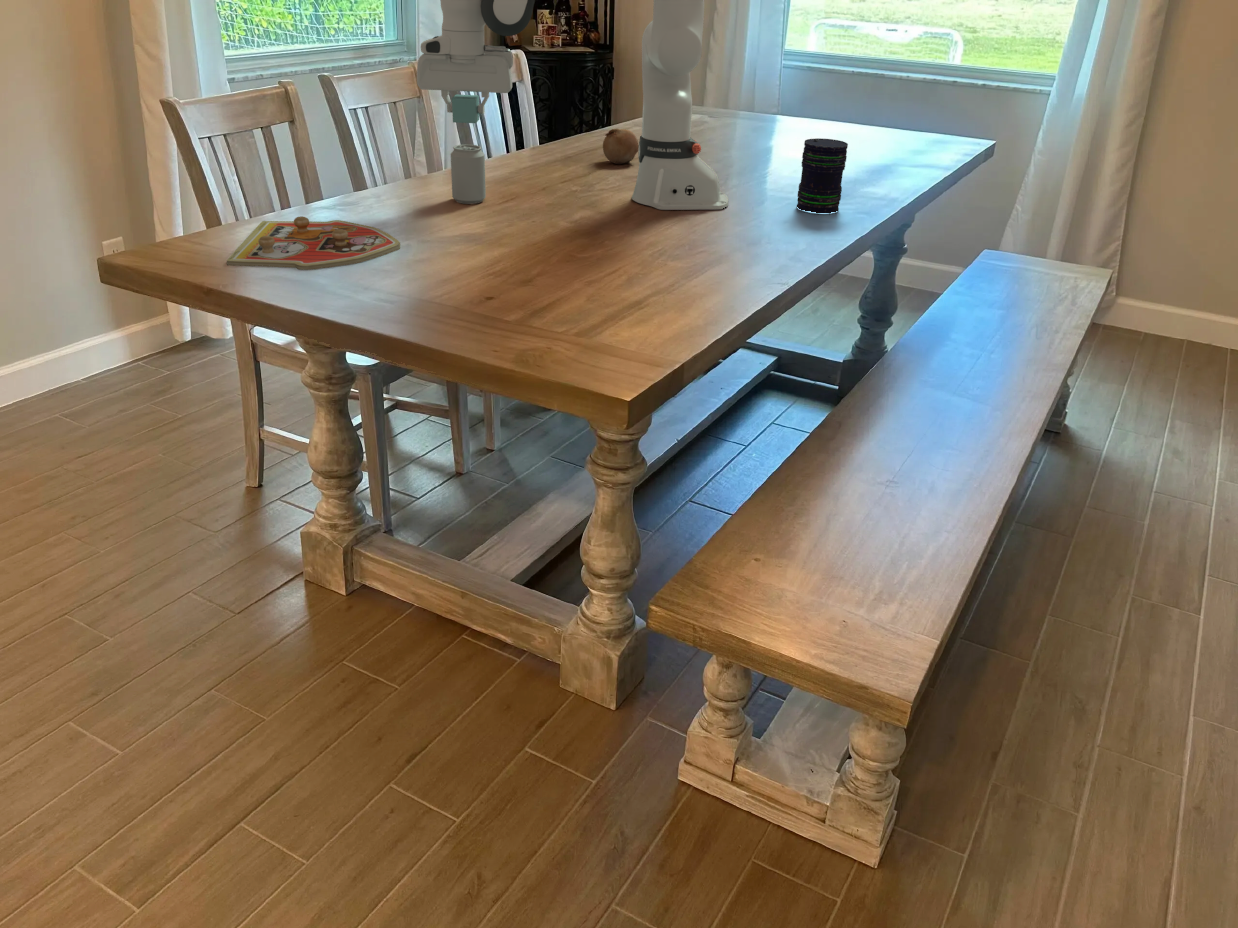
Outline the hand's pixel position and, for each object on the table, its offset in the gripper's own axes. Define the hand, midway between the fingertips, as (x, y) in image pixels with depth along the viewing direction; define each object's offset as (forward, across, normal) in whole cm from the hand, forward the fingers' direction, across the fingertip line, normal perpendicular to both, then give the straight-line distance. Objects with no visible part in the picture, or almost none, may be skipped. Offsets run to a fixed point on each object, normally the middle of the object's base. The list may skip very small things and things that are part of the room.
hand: (466, 112), depth 217 cm
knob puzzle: (+20, +22, +39) cm, 49 cm away
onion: (+19, -33, -46) cm, 60 cm away
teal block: (+2, 0, 0) cm, 2 cm away
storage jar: (+19, -80, -6) cm, 82 cm away
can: (+19, 0, 0) cm, 19 cm away
